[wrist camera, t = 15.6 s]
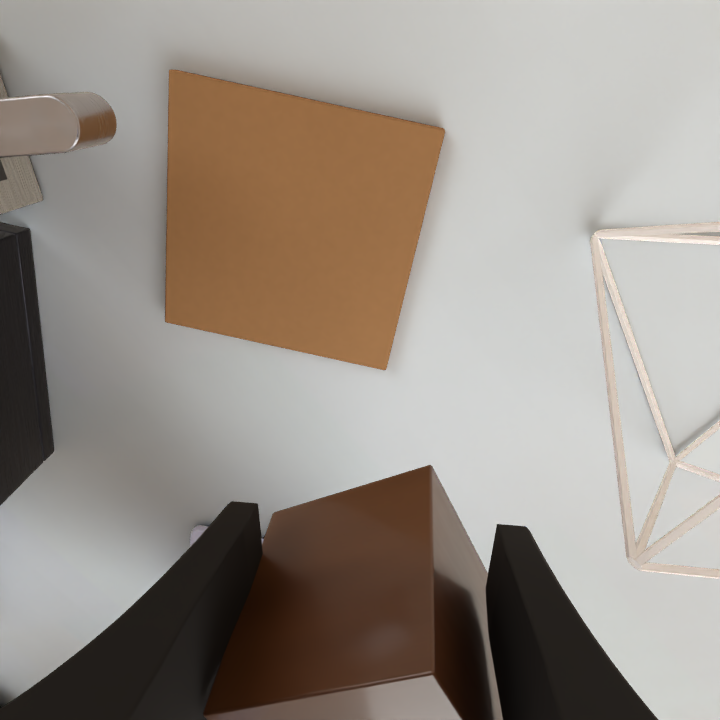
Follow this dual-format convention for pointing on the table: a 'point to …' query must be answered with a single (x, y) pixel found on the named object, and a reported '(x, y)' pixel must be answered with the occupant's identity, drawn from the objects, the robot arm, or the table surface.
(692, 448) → the geometric polyhedron
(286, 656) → the block
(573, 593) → the table surface
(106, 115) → the grey hollow rectangular piece
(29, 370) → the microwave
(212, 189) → the mat
